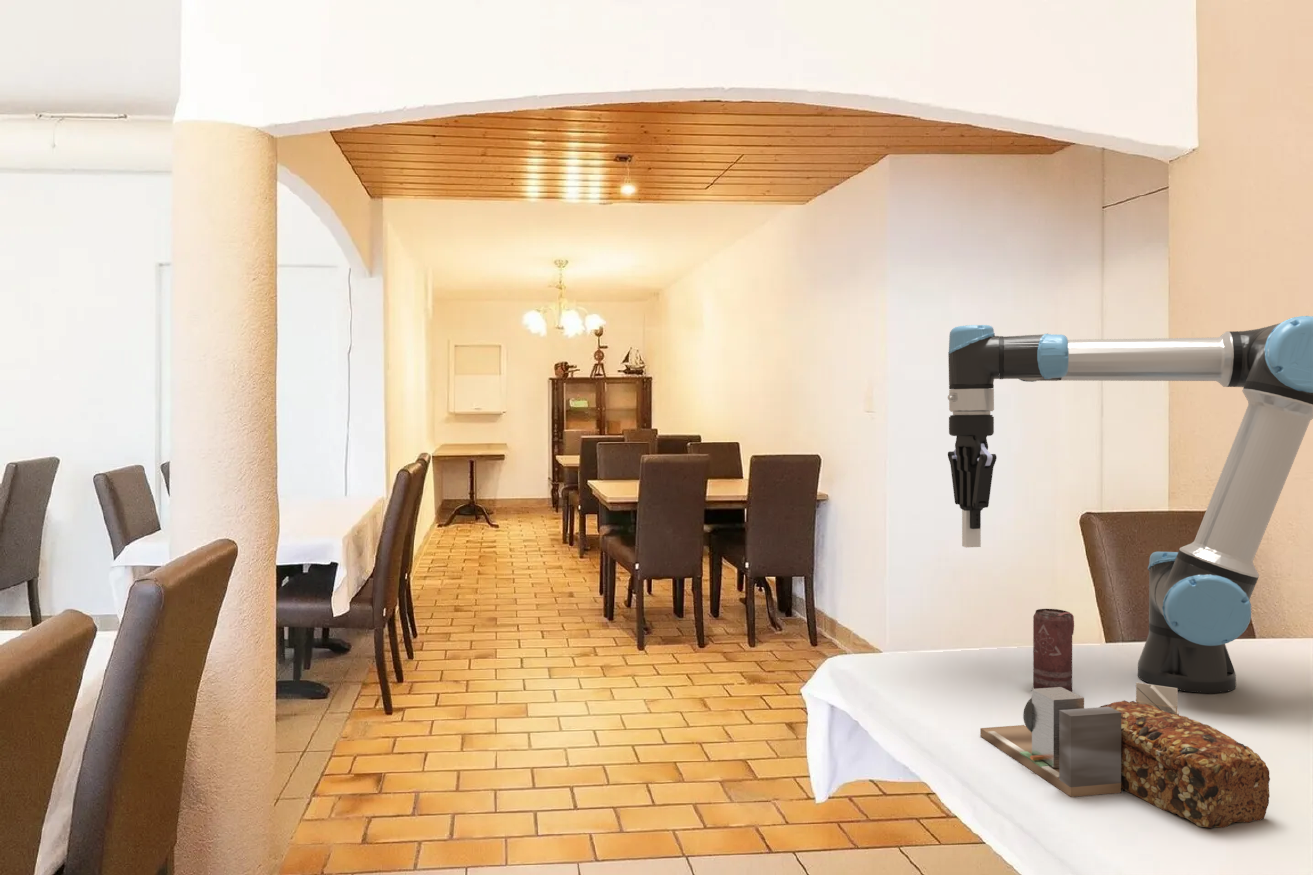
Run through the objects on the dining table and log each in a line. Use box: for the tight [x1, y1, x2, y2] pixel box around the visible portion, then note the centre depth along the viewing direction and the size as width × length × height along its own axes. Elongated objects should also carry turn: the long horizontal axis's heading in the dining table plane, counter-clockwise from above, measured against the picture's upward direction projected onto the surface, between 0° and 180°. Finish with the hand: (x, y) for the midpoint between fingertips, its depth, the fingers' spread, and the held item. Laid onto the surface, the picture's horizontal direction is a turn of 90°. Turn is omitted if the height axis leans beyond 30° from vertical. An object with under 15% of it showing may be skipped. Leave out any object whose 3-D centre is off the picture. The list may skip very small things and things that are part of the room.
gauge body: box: [979, 706, 1122, 798], centre depth 126 cm, size 22×7×10 cm, turn 10°
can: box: [1032, 608, 1075, 692], centre depth 157 cm, size 6×6×14 cm
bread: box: [1099, 700, 1271, 829], centre depth 115 cm, size 19×11×10 cm, turn 17°
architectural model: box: [1135, 681, 1180, 715], centre depth 137 cm, size 3×7×7 cm, turn 55°
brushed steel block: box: [1022, 687, 1085, 768], centre depth 124 cm, size 6×7×9 cm
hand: (971, 546), depth 163 cm, fingers closed
